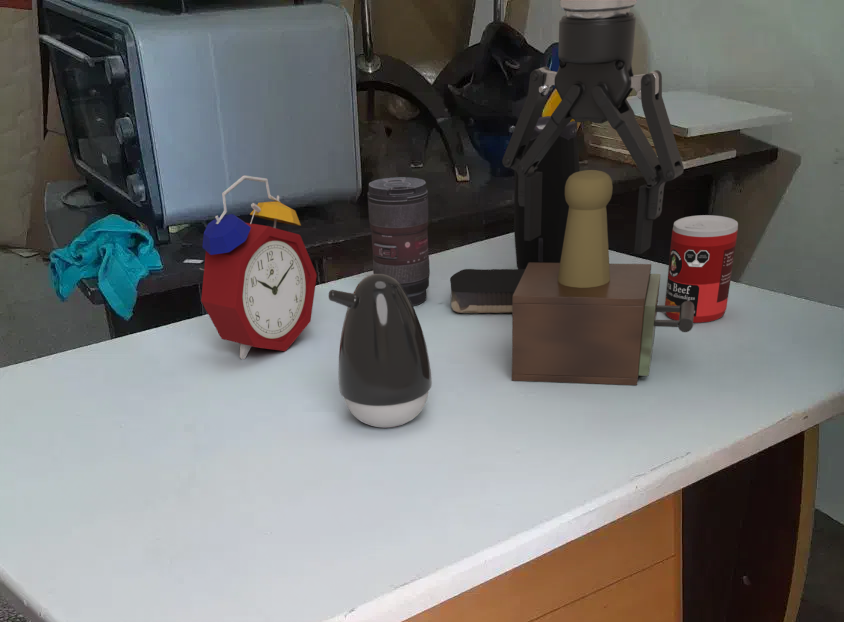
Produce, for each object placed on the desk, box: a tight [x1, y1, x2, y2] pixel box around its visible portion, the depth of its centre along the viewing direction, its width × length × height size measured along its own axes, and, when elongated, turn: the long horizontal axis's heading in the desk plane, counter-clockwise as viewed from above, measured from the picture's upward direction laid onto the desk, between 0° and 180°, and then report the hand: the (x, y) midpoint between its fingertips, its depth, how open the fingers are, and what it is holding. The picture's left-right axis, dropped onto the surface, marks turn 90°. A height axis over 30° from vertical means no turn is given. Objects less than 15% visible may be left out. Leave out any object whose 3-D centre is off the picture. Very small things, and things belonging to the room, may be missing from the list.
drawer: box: [638, 273, 694, 377], centre depth 119 cm, size 18×11×8 cm, turn 77°
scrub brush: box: [449, 268, 525, 314], centre depth 139 cm, size 16×8×4 cm, turn 80°
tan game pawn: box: [558, 169, 613, 288], centre depth 113 cm, size 6×6×11 cm
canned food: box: [664, 214, 739, 324], centre depth 130 cm, size 8×8×11 cm
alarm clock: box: [198, 174, 318, 361], centre depth 126 cm, size 15×9×20 cm, turn 143°
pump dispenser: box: [328, 274, 433, 429], centre depth 108 cm, size 10×10×15 cm
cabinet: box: [511, 262, 652, 386], centre depth 120 cm, size 15×13×10 cm
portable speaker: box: [513, 115, 581, 269], centre depth 143 cm, size 9×9×20 cm
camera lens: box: [367, 176, 431, 307], centre depth 139 cm, size 8×8×15 cm
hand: (585, 244), depth 114 cm, fingers open, 13 cm apart
